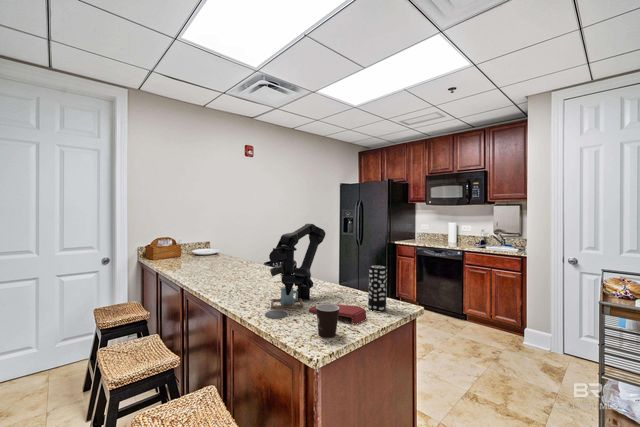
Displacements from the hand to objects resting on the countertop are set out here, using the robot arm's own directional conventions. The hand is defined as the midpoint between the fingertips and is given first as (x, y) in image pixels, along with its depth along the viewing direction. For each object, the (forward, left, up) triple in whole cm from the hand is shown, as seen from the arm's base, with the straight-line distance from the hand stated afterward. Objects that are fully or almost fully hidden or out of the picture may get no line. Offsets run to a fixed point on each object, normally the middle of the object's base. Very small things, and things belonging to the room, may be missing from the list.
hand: (287, 292), depth 144 cm
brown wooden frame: (0, 0, -6) cm, 6 cm away
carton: (-21, +16, -6) cm, 27 cm away
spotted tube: (-42, +10, -6) cm, 44 cm away
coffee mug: (-14, +35, -6) cm, 38 cm away
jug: (-1, 0, -6) cm, 6 cm away
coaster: (+5, +14, -6) cm, 16 cm away
